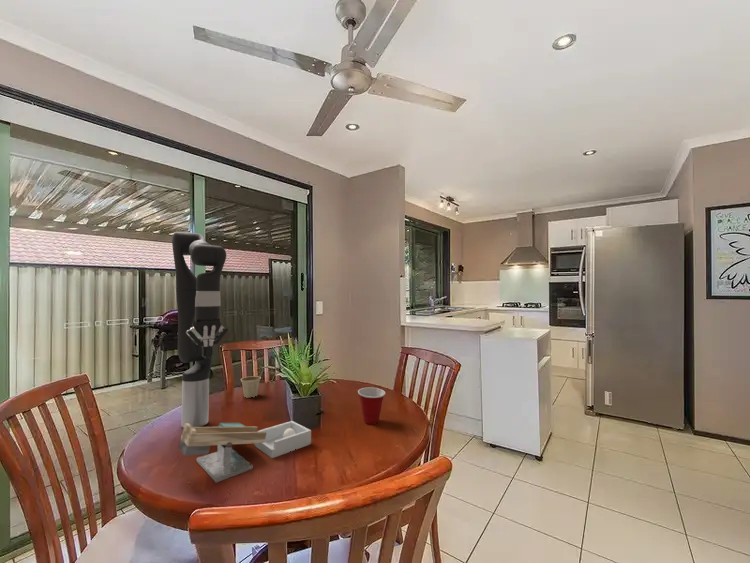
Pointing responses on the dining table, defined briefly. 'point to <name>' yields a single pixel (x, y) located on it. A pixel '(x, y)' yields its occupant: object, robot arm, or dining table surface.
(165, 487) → the dining table surface
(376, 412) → the plastic cup
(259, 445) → the tray
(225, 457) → the lever stand
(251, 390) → the flower pot
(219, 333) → the robot arm
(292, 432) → the ball
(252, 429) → the lever
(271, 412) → the dining table surface
